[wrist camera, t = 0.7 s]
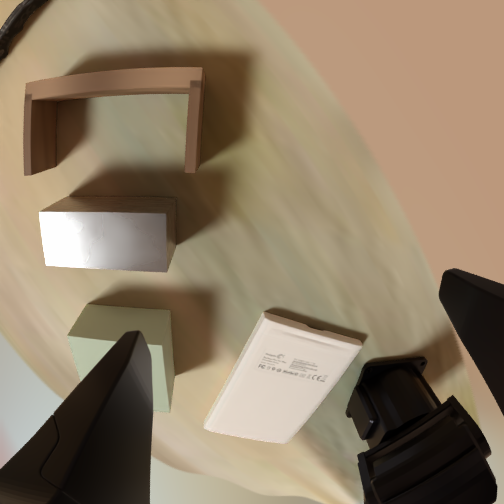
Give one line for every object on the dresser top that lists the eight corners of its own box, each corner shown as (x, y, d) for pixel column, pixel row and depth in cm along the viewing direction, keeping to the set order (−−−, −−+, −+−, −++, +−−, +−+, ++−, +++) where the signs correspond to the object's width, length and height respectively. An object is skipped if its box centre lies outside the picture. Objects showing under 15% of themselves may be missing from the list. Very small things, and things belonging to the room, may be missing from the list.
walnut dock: (205, 76, 16) (202, 67, 13) (199, 165, 18) (195, 173, 15) (51, 86, 15) (25, 83, 12) (49, 167, 16) (24, 175, 14)
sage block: (170, 308, 21) (162, 345, 17) (175, 374, 23) (169, 412, 19) (87, 302, 20) (67, 335, 17) (101, 367, 23) (88, 402, 19)
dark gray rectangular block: (176, 197, 18) (166, 213, 15) (176, 246, 19) (167, 272, 16) (66, 196, 17) (39, 211, 14) (70, 242, 18) (46, 265, 15)
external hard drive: (203, 416, 26) (262, 306, 22) (286, 431, 28) (358, 335, 24) (203, 430, 24) (265, 319, 20) (288, 444, 26) (365, 348, 22)
